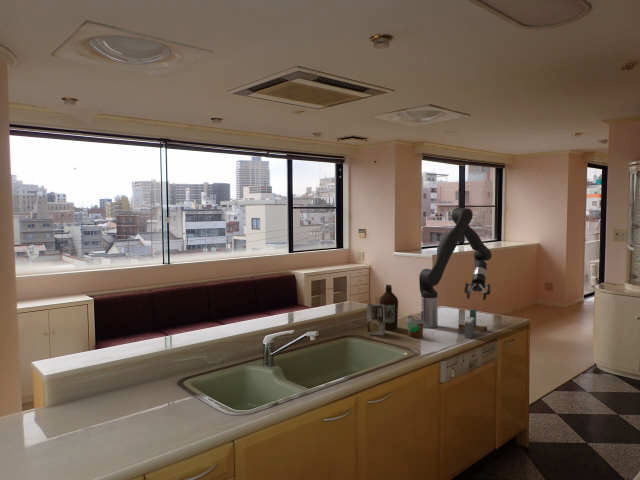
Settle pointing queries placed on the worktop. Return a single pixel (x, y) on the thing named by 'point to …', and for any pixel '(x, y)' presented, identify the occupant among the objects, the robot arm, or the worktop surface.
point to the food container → (415, 327)
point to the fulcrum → (469, 327)
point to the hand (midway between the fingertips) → (476, 299)
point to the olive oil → (390, 308)
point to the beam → (477, 328)
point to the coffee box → (375, 319)
